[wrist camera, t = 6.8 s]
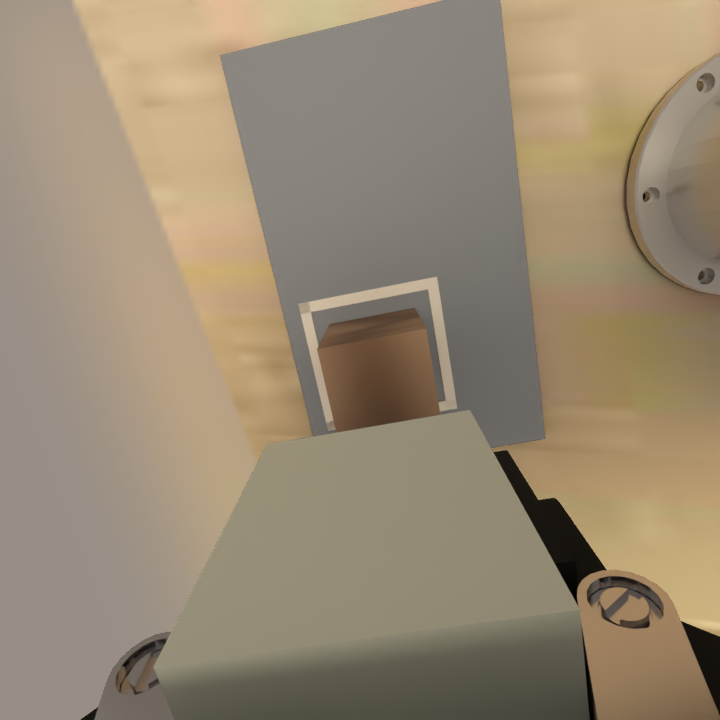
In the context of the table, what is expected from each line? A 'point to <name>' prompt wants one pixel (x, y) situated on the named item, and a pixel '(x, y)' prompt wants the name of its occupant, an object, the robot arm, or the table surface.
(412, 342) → the walnut block
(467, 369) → the board
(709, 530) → the table surface
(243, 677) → the sage block
